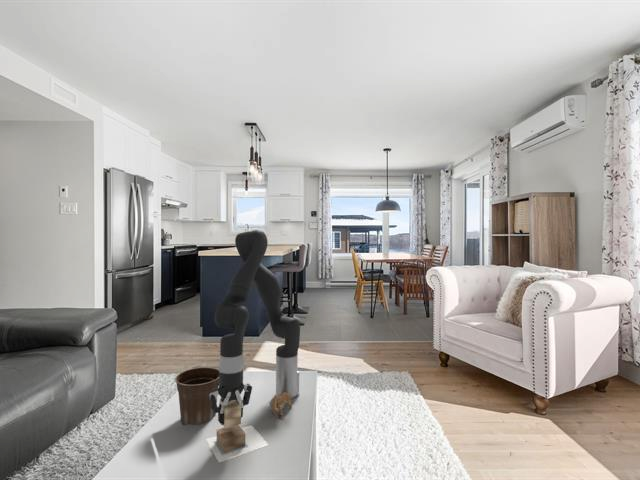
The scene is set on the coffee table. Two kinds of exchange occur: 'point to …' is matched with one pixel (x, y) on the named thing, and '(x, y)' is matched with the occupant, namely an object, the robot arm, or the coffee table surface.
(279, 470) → the coffee table surface
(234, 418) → the oak block
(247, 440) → the board
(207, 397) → the plant pot
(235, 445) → the walnut plinth
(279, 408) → the lion figurine
